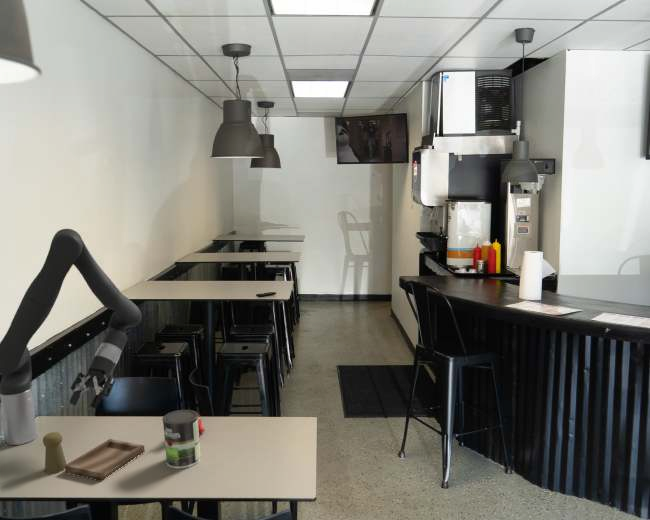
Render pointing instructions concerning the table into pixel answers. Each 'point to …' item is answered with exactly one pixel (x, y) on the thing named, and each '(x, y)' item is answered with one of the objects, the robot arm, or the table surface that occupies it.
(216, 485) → the table surface
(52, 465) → the cork
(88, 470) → the walnut tray
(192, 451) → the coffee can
